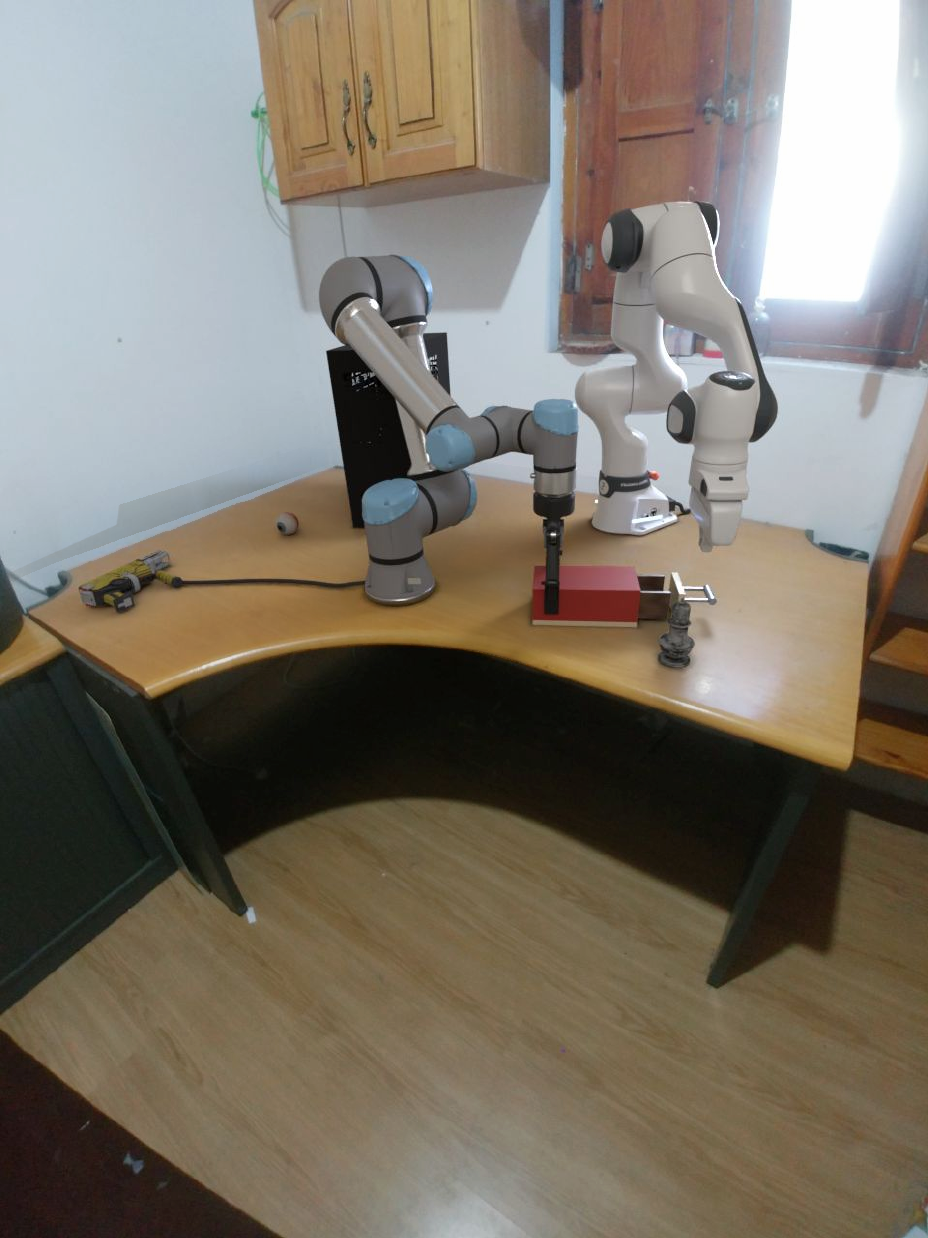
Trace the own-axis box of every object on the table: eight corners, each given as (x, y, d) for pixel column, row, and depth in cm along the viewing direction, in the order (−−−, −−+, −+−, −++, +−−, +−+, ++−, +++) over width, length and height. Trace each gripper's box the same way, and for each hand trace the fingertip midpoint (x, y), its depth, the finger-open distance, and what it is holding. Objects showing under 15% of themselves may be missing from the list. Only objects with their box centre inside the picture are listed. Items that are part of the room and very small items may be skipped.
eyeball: (273, 537, 164) (268, 516, 161) (287, 528, 169) (282, 508, 166) (291, 539, 161) (286, 518, 158) (305, 530, 166) (301, 510, 163)
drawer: (705, 599, 120) (710, 572, 117) (715, 623, 112) (721, 594, 109) (579, 597, 124) (580, 571, 121) (581, 620, 116) (582, 592, 113)
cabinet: (631, 600, 123) (634, 566, 119) (636, 627, 114) (640, 590, 110) (534, 599, 126) (534, 565, 122) (532, 624, 117) (532, 589, 113)
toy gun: (206, 558, 145) (156, 547, 149) (127, 600, 125) (71, 586, 129) (209, 576, 148) (160, 565, 152) (132, 620, 128) (77, 606, 132)
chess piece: (694, 669, 101) (704, 607, 95) (657, 667, 102) (665, 605, 96) (690, 650, 106) (699, 590, 100) (655, 648, 107) (662, 588, 101)
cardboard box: (422, 529, 163) (406, 348, 140) (352, 527, 167) (325, 350, 145) (456, 486, 194) (446, 332, 172) (396, 484, 199) (379, 334, 176)
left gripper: (535, 472, 119) (534, 573, 130) (530, 513, 99) (530, 628, 110) (573, 472, 118) (569, 574, 129) (577, 513, 98) (572, 629, 109)
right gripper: (686, 458, 113) (677, 528, 119) (710, 493, 95) (697, 573, 102) (722, 458, 112) (710, 528, 119) (752, 493, 94) (737, 573, 101)
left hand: (551, 599), depth 119 cm, fingers closed on cabinet, 10 cm apart
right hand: (704, 549), depth 110 cm, fingers closed
